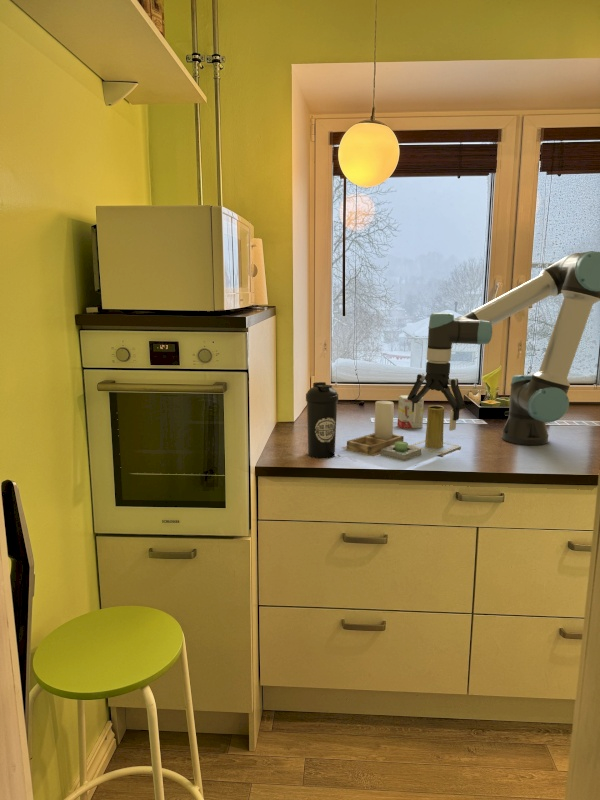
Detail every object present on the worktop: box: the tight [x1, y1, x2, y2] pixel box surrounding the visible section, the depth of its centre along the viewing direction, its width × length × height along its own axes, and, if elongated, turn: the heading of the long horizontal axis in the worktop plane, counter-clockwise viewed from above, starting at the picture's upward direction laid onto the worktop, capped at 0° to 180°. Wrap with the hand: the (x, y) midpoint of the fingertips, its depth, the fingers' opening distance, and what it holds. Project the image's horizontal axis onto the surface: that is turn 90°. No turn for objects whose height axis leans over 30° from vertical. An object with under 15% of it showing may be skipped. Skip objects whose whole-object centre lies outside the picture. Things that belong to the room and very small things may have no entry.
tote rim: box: [408, 439, 462, 458], centre depth 194 cm, size 13×12×1 cm
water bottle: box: [305, 381, 339, 460], centre depth 186 cm, size 10×10×23 cm
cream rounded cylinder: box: [373, 400, 395, 440], centre depth 195 cm, size 6×6×14 cm
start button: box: [395, 441, 409, 451], centre depth 184 cm, size 4×4×2 cm
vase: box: [424, 405, 445, 449], centre depth 193 cm, size 6×6×14 cm
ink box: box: [397, 394, 425, 429], centre depth 223 cm, size 9×5×12 cm, turn 98°
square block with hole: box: [380, 444, 422, 462], centre depth 184 cm, size 9×9×3 cm
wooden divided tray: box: [342, 432, 404, 457], centre depth 194 cm, size 13×19×4 cm
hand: (433, 425), depth 193 cm, fingers open, 13 cm apart
